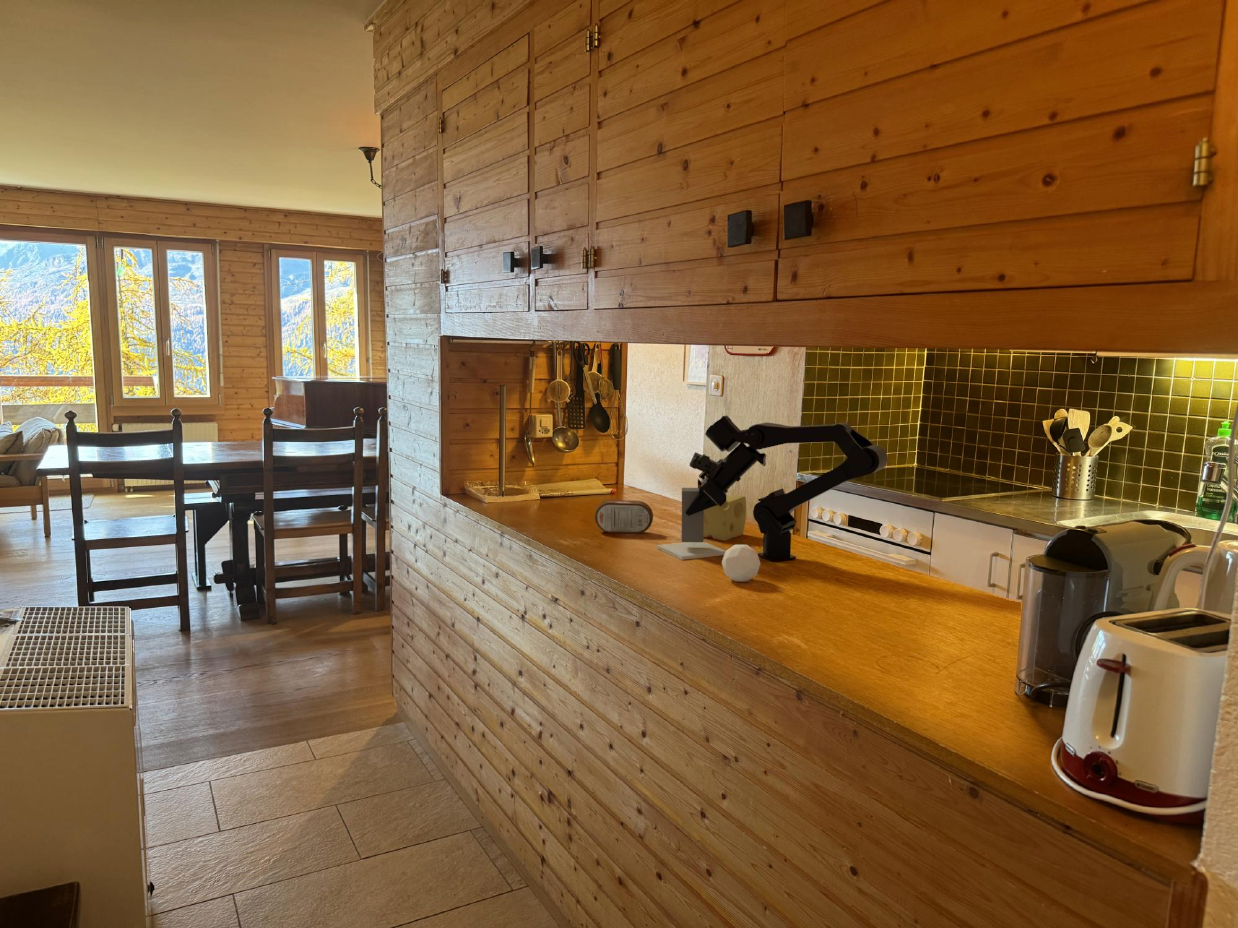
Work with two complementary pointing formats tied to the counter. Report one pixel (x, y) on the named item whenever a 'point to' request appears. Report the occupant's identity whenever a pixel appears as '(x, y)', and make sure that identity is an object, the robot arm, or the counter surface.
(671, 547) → the tile
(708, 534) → the cheese
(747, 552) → the ball
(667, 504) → the counter surface
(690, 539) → the block
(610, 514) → the tin
